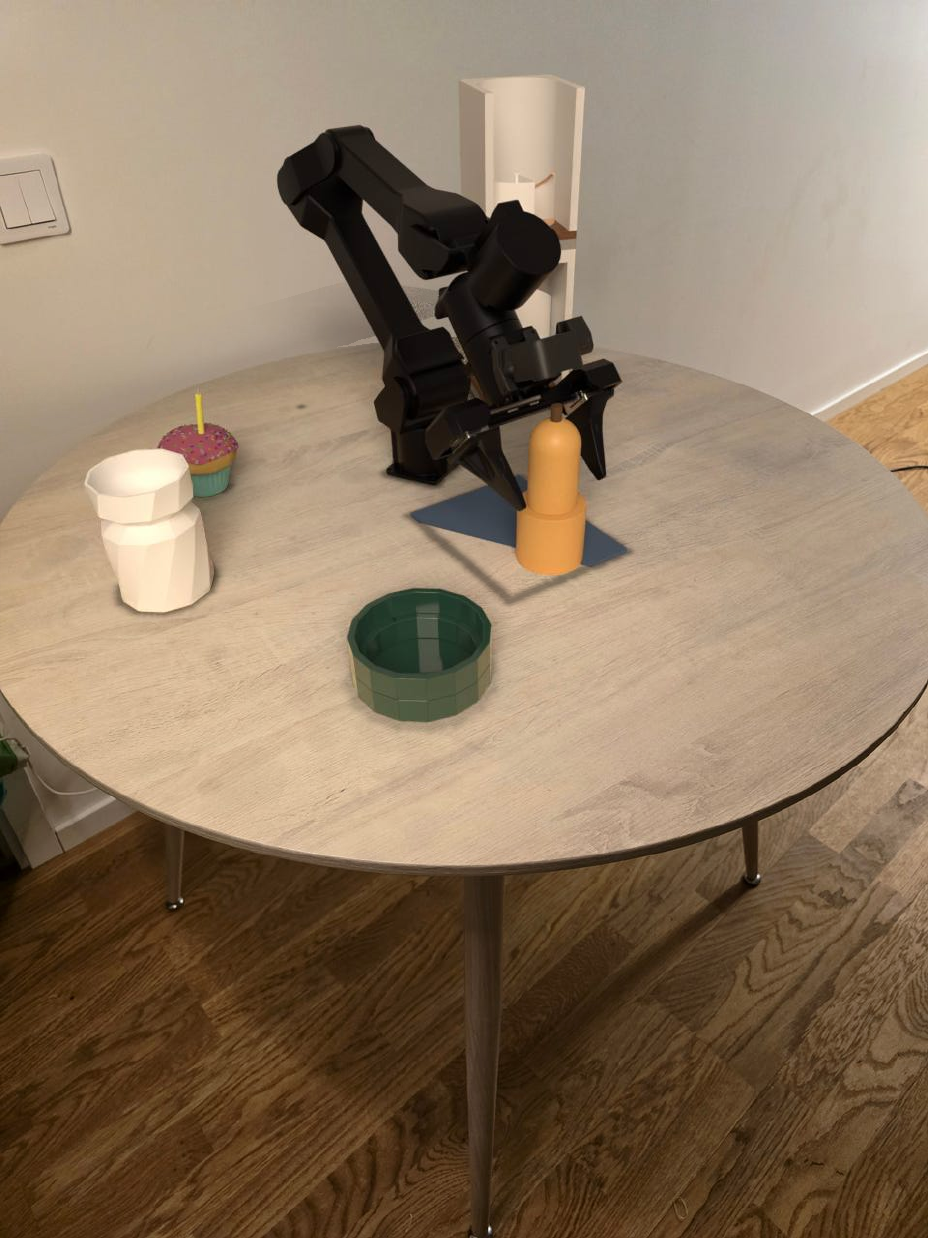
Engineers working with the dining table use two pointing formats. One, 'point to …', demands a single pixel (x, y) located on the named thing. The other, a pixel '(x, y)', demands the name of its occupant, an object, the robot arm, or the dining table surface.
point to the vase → (151, 528)
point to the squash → (552, 499)
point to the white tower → (527, 172)
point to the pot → (420, 654)
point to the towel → (504, 522)
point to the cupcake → (203, 452)
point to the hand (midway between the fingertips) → (563, 493)
